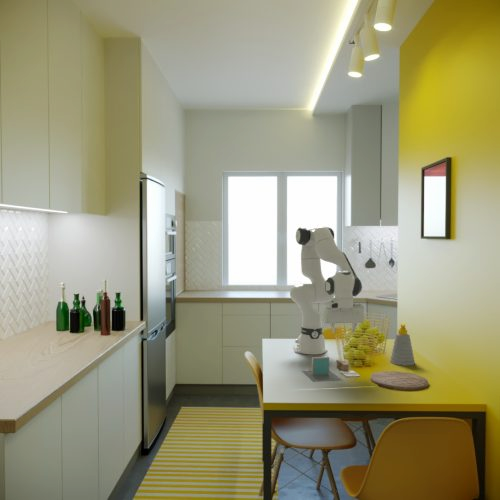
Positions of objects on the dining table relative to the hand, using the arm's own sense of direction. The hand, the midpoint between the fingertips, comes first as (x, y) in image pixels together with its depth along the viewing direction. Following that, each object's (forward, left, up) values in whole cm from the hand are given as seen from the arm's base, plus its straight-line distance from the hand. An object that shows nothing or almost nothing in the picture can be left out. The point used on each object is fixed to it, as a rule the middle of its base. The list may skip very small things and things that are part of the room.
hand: (343, 332), depth 234 cm
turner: (+3, 0, -19) cm, 19 cm away
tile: (+6, -14, -19) cm, 24 cm away
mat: (+8, -14, -19) cm, 25 cm away
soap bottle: (-11, +37, -19) cm, 43 cm away
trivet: (+21, +18, -20) cm, 34 cm away
